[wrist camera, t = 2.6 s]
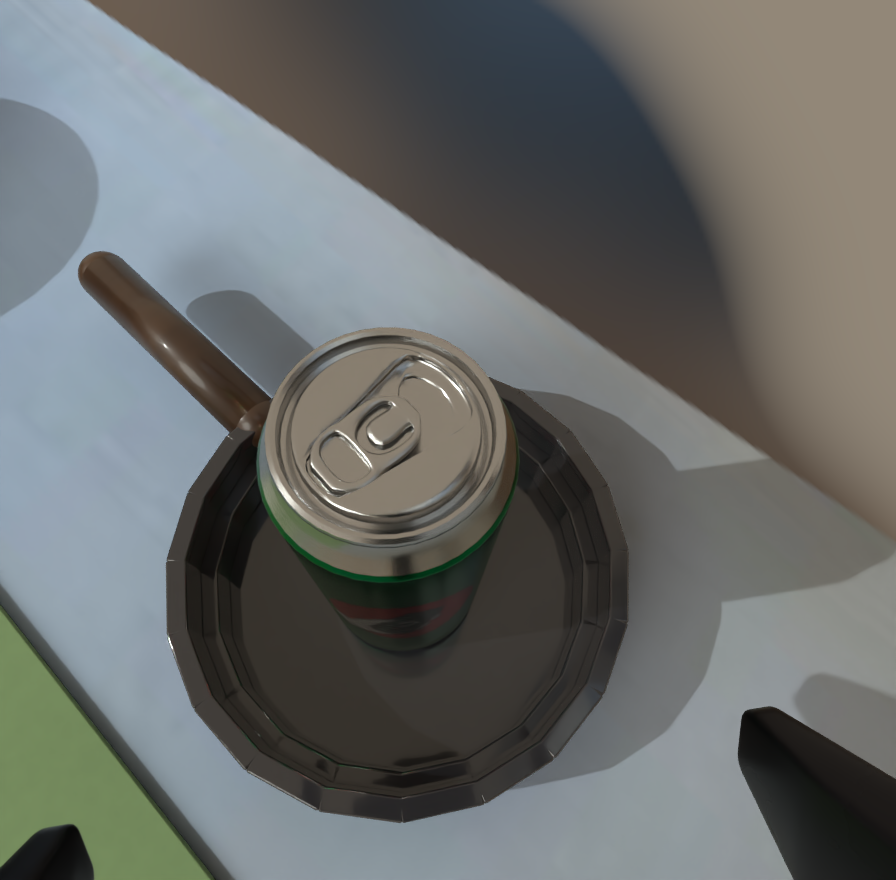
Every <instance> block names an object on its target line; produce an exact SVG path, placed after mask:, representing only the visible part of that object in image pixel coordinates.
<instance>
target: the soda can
mask: <svg viewBox="0 0 896 880" xmlns="http://www.w3.org/2000/svg"><path fill="white" fill-rule="evenodd" d="M519 461H520V458H519V446H518V438H517V435H516V431H515V427H514V423H513V421H512V418H511V416H510V414H509V412H508V409H507V407H506V405H505V404H504V402H503V401H502V399H501V398H500V396H499V395H498V393H497V391H496V389H495V387H494V385H493V384H492V382H491V381H490V379H489V378H488V376H487V375H486V373H485V372H484V371H483V370H482V369H481V368H480V366H479V365H478V364H477V363H476V362H475V361H474V360H473V359H472V358H471V357H469V356H468V355H467V354H466V353H464V352H463V351H462V350H461V349H459V348H457V347H456V346H454V345H452V344H451V343H449V342H447V341H445V340H443V339H441V338H438V337H436V336H433V335H431V334H428V333H424V332H420V331H416V330H411V329H404V328H373V329H365V330H360V331H356V332H352V333H349V334H345V335H342V336H340V337H338V338H335V339H333V340H331V341H328V342H327V343H325V344H323V345H322V346H320V347H318V348H316V349H315V350H313V351H312V352H311V353H309V354H308V355H307V356H306V357H304V358H303V359H302V360H301V361H299V363H298V364H297V365H296V366H295V367H294V368H293V369H292V370H291V371H290V372H289V373H288V375H287V376H286V378H285V379H284V380H283V382H282V383H281V385H280V386H279V388H278V390H277V392H276V394H275V396H274V398H273V401H272V403H271V405H270V409H269V413H268V416H267V419H266V421H265V423H264V425H263V429H262V433H261V436H260V440H259V443H258V452H257V462H256V464H257V478H258V485H259V489H260V493H261V497H262V501H263V503H264V505H265V508H266V510H267V512H268V514H269V516H270V519H271V520H272V522H273V523H274V525H275V526H276V528H277V529H278V531H279V532H280V534H281V535H282V537H283V538H284V539H285V541H286V542H287V544H288V545H289V546H290V548H291V549H292V551H293V552H294V554H295V555H296V556H297V558H298V559H299V561H300V562H301V563H302V565H303V566H304V568H305V569H306V571H307V572H308V573H309V575H310V576H311V578H312V579H313V580H314V582H315V583H316V585H317V586H318V588H319V589H320V590H321V592H322V593H323V595H324V596H325V597H326V599H327V600H328V602H329V603H330V605H331V606H332V607H333V609H334V610H335V612H336V613H337V615H338V616H339V617H340V619H341V620H342V622H343V623H344V624H345V625H346V626H347V627H348V628H349V630H350V631H351V632H352V633H354V634H355V635H356V636H358V637H359V638H360V639H362V640H363V641H365V642H367V643H369V644H371V645H373V646H377V647H380V648H383V649H388V650H395V651H408V650H415V649H420V648H423V647H426V646H429V645H431V644H434V643H436V642H437V641H439V640H441V639H443V638H444V637H446V636H447V635H448V634H449V633H451V632H452V631H453V630H454V629H455V628H456V627H457V626H458V625H459V624H460V623H461V621H462V620H463V618H464V617H465V615H466V614H467V612H468V611H469V609H470V606H471V604H472V602H473V600H474V597H475V594H476V592H477V589H478V587H479V584H480V581H481V579H482V576H483V574H484V571H485V569H486V566H487V563H488V561H489V558H490V556H491V553H492V550H493V548H494V545H495V543H496V540H497V538H498V535H499V532H500V530H501V527H502V525H503V522H504V519H505V517H506V514H507V512H508V509H509V507H510V504H511V501H512V499H513V496H514V492H515V488H516V484H517V480H518V473H519Z"/></svg>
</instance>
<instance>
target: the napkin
mask: <svg viewBox="0 0 896 880" xmlns="http://www.w3.org/2000/svg"><path fill="white" fill-rule="evenodd" d="M64 824H73V825H75V826H76V827H78V829H79V831H80V834H81V836H82V839H83V841H84V844H85V846H86V849H87V851H88V854H89V856H90V859H91V862H92V864H93V868H94V880H215V879H214V877H213V876H212V875H211V873H210V872H209V871H208V870H207V868H206V867H205V866H204V864H203V863H202V862H201V861H200V859H199V858H198V857H197V856H196V854H195V853H194V852H193V850H192V849H191V848H190V847H189V845H188V844H187V843H186V841H185V840H184V839H183V838H182V836H181V835H180V834H179V833H178V831H177V830H176V829H175V827H174V826H173V825H172V824H171V822H170V821H169V820H168V818H167V817H166V816H165V815H164V813H163V812H162V811H161V810H160V808H159V807H158V806H157V804H156V803H155V802H154V801H153V799H152V798H151V797H150V795H149V794H148V793H147V792H146V790H145V789H144V788H143V787H142V785H141V784H140V783H139V781H138V780H137V779H136V778H135V776H134V775H133V774H132V772H131V771H130V770H129V769H128V767H127V766H126V765H125V764H124V762H123V761H122V760H121V758H120V757H119V756H118V755H117V753H116V752H115V751H114V749H113V748H112V747H111V746H110V744H109V743H108V742H107V741H106V739H105V738H104V737H103V735H102V734H101V733H100V732H99V730H98V729H97V728H96V726H95V725H94V724H93V723H92V721H91V720H90V719H89V718H88V716H87V715H86V714H85V712H84V711H83V710H82V709H81V707H80V706H79V705H78V703H77V702H76V701H75V700H74V698H73V697H72V696H71V695H70V693H69V692H68V691H67V689H66V688H65V687H64V686H63V684H62V683H61V682H60V680H59V679H58V678H57V677H56V675H55V674H54V673H53V672H52V670H51V669H50V668H49V666H48V665H47V664H46V663H45V661H44V660H43V659H42V657H41V656H40V655H39V654H38V652H37V651H36V650H35V649H34V647H33V646H32V645H31V643H30V642H29V641H28V640H27V638H26V637H25V636H24V634H23V633H22V632H21V631H20V629H19V628H18V627H17V626H16V624H15V623H14V622H13V620H12V619H11V618H10V617H9V615H8V614H7V613H6V611H5V610H4V609H3V608H2V606H1V605H0V867H1V866H2V865H3V864H4V863H5V862H6V861H7V860H8V859H9V858H10V857H11V856H12V855H13V854H14V853H15V852H16V851H17V850H18V849H19V848H20V847H21V846H22V845H23V844H24V843H25V842H26V841H27V840H28V839H29V838H30V837H31V836H32V835H33V834H34V833H36V832H37V831H39V830H40V829H43V828H47V827H52V826H58V825H64Z"/></svg>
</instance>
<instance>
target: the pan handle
mask: <svg viewBox="0 0 896 880" xmlns="http://www.w3.org/2000/svg"><path fill="white" fill-rule="evenodd" d="M78 278H79V281H80V283H81V285H82V287H83V288H84V289H85V291H86V292H87V293H88V294H89V295H90V296H91V297H92V298H93V299H94V300H96V301H97V302H98V303H99V304H100V305H101V306H102V307H103V308H104V309H105V310H106V311H107V312H108V313H109V314H110V315H111V316H112V317H113V318H114V319H115V320H116V321H117V322H118V323H119V324H120V325H121V326H122V327H123V328H124V329H125V330H126V331H127V332H128V333H129V334H130V335H131V336H132V337H133V338H134V339H135V340H136V341H137V342H138V343H139V344H140V345H141V346H142V347H143V348H144V349H145V350H146V351H147V352H148V353H149V354H150V355H151V356H152V357H153V358H155V359H156V360H157V361H158V362H159V363H160V364H161V365H162V366H163V367H164V368H165V369H166V370H167V371H168V372H169V373H170V374H171V375H172V376H173V377H174V378H175V379H176V380H177V381H178V382H179V383H180V384H181V385H182V386H183V387H184V388H185V389H186V390H187V391H188V392H189V393H190V394H191V395H192V396H193V397H194V398H195V399H196V400H197V401H198V402H199V403H200V404H201V405H202V406H203V407H204V408H205V409H206V410H207V411H208V412H209V413H210V414H211V415H212V416H214V417H215V418H216V419H217V420H218V421H219V422H220V423H221V424H222V425H223V426H224V427H225V428H226V429H227V430H228V431H229V432H230V433H231V432H232V431H233V430H234V429H235V428H237V427H239V428H240V429H242V430H245V431H256V432H255V435H254V437H253V440H252V444H253V446H254V447H258V443H259V440H260V436H261V433H262V429H263V425H264V423H265V421H266V419H267V416H268V413H269V409H270V405H271V404H270V403H269V401H270V400H271V398H270V397H269V396H268V395H267V394H266V393H265V392H264V391H263V390H262V389H260V388H259V387H258V386H257V385H256V384H255V383H254V382H253V381H252V380H251V379H250V378H249V377H248V376H247V375H246V374H244V373H243V372H242V371H241V370H240V369H239V368H238V367H237V366H236V365H235V364H234V363H233V362H232V361H231V360H230V359H228V358H227V357H226V356H225V355H224V354H223V353H222V352H221V351H220V350H219V349H218V348H217V347H216V346H215V345H214V344H212V343H211V342H210V341H209V340H208V339H207V338H206V337H205V336H204V335H203V334H202V333H201V332H200V331H199V330H198V329H196V328H195V327H194V326H193V325H192V324H191V323H190V322H189V321H188V320H187V319H186V318H185V317H184V316H183V315H181V314H180V313H179V312H178V311H177V310H176V309H175V308H174V307H173V306H172V305H171V304H170V303H169V302H168V301H167V300H165V299H164V298H163V297H162V296H161V295H160V294H159V293H158V292H157V291H156V290H155V289H154V288H153V287H152V286H151V285H149V284H148V283H147V282H146V281H145V280H144V279H143V278H142V277H141V276H140V275H139V274H138V273H137V272H136V271H135V270H133V269H132V268H131V267H130V266H129V265H128V264H127V263H126V262H125V261H124V260H123V259H122V258H120V257H119V256H117V255H115V254H113V253H110V252H105V251H98V252H94V253H91V254H89V255H87V256H86V257H85V258H84V259H83V260H82V261H81V263H80V265H79V268H78Z"/></svg>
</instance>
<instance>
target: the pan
mask: <svg viewBox="0 0 896 880" xmlns="http://www.w3.org/2000/svg"><path fill="white" fill-rule="evenodd" d="M488 378H489V379H490V381H491V382H492V384H493V385H494V387H495V389H496V391H497V393H498V395H499V396H500V398H501V399H502V401H503V402H504V404H505V405H506V407H507V409H508V412H509V414H510V416H511V418H512V421H513V423H514V427H515V431H516V435H517V438H518V446H519V458H520V461H519V473H518V480H517V484H516V488H515V492H514V496H513V499H512V501H511V504H510V507H509V509H508V512H507V514H506V517H505V519H504V522H503V525H502V527H501V530H500V532H499V535H498V538H497V540H496V543H495V545H494V548H493V550H492V553H491V556H490V558H489V561H488V563H487V566H486V569H485V571H484V574H483V576H482V579H481V581H480V584H479V587H478V589H477V592H476V594H475V597H474V600H473V602H472V604H471V606H470V609H469V611H468V612H467V614H466V615H465V617H464V618H463V620H462V621H461V623H460V624H459V625H458V626H457V627H456V628H455V629H454V630H453V631H452V632H451V633H449V634H448V635H447V636H446V637H444V638H443V639H441V640H439V641H437V642H436V643H434V644H431V645H429V646H426V647H423V648H420V649H415V650H408V651H395V650H388V649H383V648H380V647H377V646H373V645H371V644H369V643H367V642H365V641H363V640H362V639H360V638H359V637H358V636H356V635H355V634H354V633H352V632H351V631H350V630H349V628H348V627H347V626H346V625H345V624H344V623H343V622H342V620H341V619H340V617H339V616H338V615H337V613H336V612H335V610H334V609H333V607H332V606H331V605H330V603H329V602H328V600H327V599H326V597H325V596H324V595H323V593H322V592H321V590H320V589H319V588H318V586H317V585H316V583H315V582H314V580H313V579H312V578H311V576H310V575H309V573H308V572H307V571H306V569H305V568H304V566H303V565H302V563H301V562H300V561H299V559H298V558H297V556H296V555H295V554H294V552H293V551H292V549H291V548H290V546H289V545H288V544H287V542H286V541H285V539H284V538H283V537H282V535H281V534H280V532H279V531H278V529H277V528H276V526H275V525H274V523H273V522H272V520H271V519H270V516H269V514H268V512H267V510H266V508H265V505H264V503H263V501H262V497H261V493H260V489H259V485H258V478H257V464H256V462H257V452H258V447H254V446H253V444H252V440H253V437H254V435H255V432H256V431H245V430H242V429H240V428H239V427H237V428H235V429H234V430H233V431H232V432H231V433H229V434H228V436H226V437H225V439H224V440H223V442H222V443H221V445H220V446H219V447H218V449H217V450H216V452H215V453H214V455H213V456H212V458H211V459H210V460H209V462H208V463H207V465H206V466H205V468H204V469H203V471H202V472H201V474H200V475H199V476H198V478H197V479H196V481H195V482H194V484H193V485H192V487H191V488H190V490H189V491H188V494H187V496H186V499H185V503H184V506H183V509H182V512H181V515H180V518H179V522H178V525H177V528H176V531H175V534H174V538H173V541H172V544H171V547H170V550H169V553H168V557H167V561H168V562H166V606H167V635H168V641H169V644H170V647H171V649H172V652H173V655H174V658H175V660H176V663H177V666H178V669H179V671H180V674H181V677H182V680H183V682H184V685H185V688H186V691H187V693H188V696H189V699H190V702H191V705H192V707H193V708H195V709H194V710H195V712H196V713H197V715H198V716H199V717H200V718H201V719H202V720H203V722H204V723H205V724H206V725H207V726H208V728H209V729H210V730H211V731H212V732H213V734H214V735H215V736H216V737H217V738H218V739H219V741H220V742H221V743H222V744H223V745H224V747H225V748H226V749H227V750H228V751H229V752H230V754H231V755H232V756H233V757H234V758H235V760H236V761H237V762H238V763H239V764H240V766H241V767H242V768H243V769H244V770H247V772H248V773H249V774H251V775H253V776H255V777H257V778H258V779H260V780H262V781H264V782H266V783H267V784H269V785H271V786H273V787H275V788H276V789H278V790H280V791H282V792H284V793H285V794H287V795H289V796H291V797H293V798H295V799H296V800H298V801H300V802H302V803H304V804H305V805H307V806H309V807H311V808H313V809H314V810H319V811H320V812H324V813H332V814H339V815H346V816H353V817H360V818H367V819H374V820H381V821H389V822H396V823H401V822H403V823H406V822H410V821H415V820H419V819H424V818H428V817H432V816H437V815H441V814H446V813H450V812H455V811H459V810H463V809H468V808H472V807H477V806H481V805H483V804H484V803H488V802H490V801H491V800H493V799H494V798H496V797H497V796H499V795H500V794H502V793H504V792H505V791H507V790H508V789H510V788H511V787H513V786H514V785H516V784H517V783H519V782H521V781H522V780H524V779H525V778H527V777H528V776H530V775H531V774H533V773H535V772H536V771H538V770H539V769H541V768H542V767H544V766H545V765H547V764H548V763H550V762H552V761H553V759H554V758H556V757H557V756H558V755H559V753H560V752H561V751H562V749H563V748H564V747H565V745H566V744H567V743H568V742H569V740H570V739H571V738H572V736H573V735H574V734H575V732H576V731H577V730H578V729H579V727H580V726H581V725H582V723H583V722H584V721H585V719H586V718H587V717H588V716H589V714H590V713H591V712H592V710H593V709H594V708H595V706H596V705H597V704H598V703H599V701H600V700H601V699H602V695H603V694H604V693H605V691H606V688H607V685H608V682H609V679H610V676H611V673H612V670H613V667H614V664H615V661H616V658H617V655H618V652H619V649H620V646H621V643H622V640H623V637H624V634H625V631H626V628H627V623H628V577H629V553H628V547H627V544H626V541H625V538H624V535H623V531H622V528H621V525H620V522H619V519H618V515H617V512H616V509H615V506H614V503H613V499H612V496H611V493H610V490H609V487H608V486H607V485H608V484H607V483H606V481H605V480H604V478H603V477H602V475H601V474H600V472H599V471H598V469H597V468H596V467H595V465H594V464H593V462H592V461H591V459H590V458H589V456H588V455H587V453H586V452H585V451H584V449H583V448H582V446H581V445H580V443H579V442H578V440H577V439H576V438H575V436H574V435H573V433H572V432H571V431H570V430H569V429H568V428H567V427H565V426H564V425H563V424H562V423H560V422H559V421H558V420H557V419H556V418H554V417H553V416H552V415H551V414H549V413H548V412H547V411H546V410H544V409H543V408H542V407H541V406H539V405H538V404H537V403H536V402H534V401H533V400H532V399H531V398H530V397H528V396H527V395H526V394H525V393H523V392H522V391H521V392H520V390H518V389H516V388H513V387H511V386H509V385H506V384H504V383H502V382H499V381H497V380H494V379H492V378H490V377H488ZM273 398H274V397H273ZM273 398H272V399H271V400H270V401H269V403H270V404H271V403H272V401H273Z"/></svg>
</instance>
